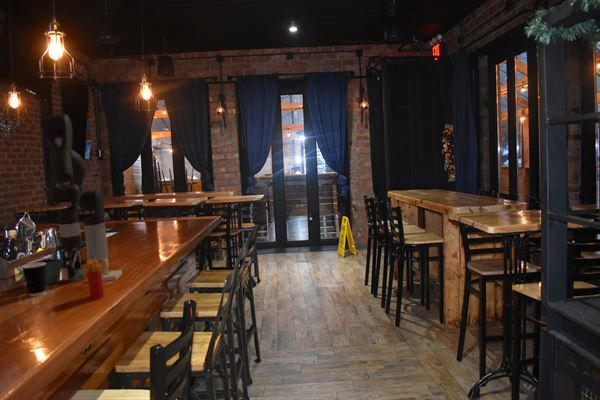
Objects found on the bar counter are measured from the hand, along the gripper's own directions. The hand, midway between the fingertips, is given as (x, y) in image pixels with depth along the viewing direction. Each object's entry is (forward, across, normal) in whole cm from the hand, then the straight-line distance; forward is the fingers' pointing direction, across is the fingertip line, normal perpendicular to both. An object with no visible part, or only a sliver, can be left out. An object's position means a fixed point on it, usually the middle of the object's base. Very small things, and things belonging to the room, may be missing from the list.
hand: (75, 274), depth 195 cm
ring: (+2, 0, 0) cm, 2 cm away
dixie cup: (+3, +18, -8) cm, 19 cm away
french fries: (+3, +30, +16) cm, 34 cm away
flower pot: (+2, +1, -10) cm, 11 cm away
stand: (+2, +2, +12) cm, 12 cm away
